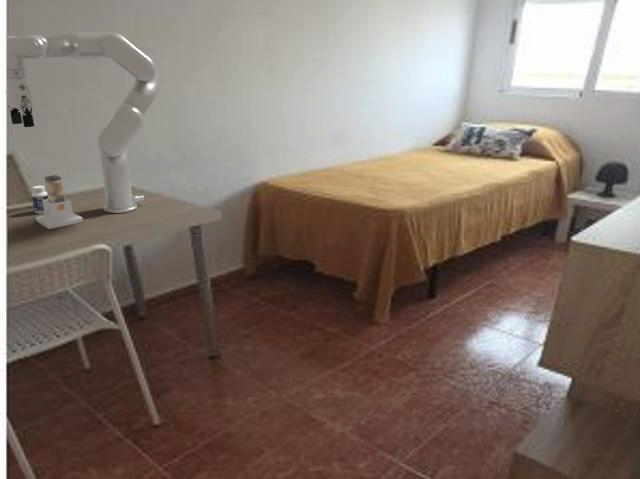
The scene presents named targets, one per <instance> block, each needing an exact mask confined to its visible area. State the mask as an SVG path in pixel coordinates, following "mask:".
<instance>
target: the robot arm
mask: <svg viewBox="0 0 640 479" xmlns="http://www.w3.org/2000/svg"><path fill="white" fill-rule="evenodd" d="M6 36H7V97H6V101H7V106H8V108H9V113H10V118H11V119H10V120H11V122H12V123H11V124H13V125H20V124H23V127H24V128H32V127H35V122H34V117H33V108H34V103H33V98H32V93H31V89H30V87H29V83H28V76H27V73H26V71H27V70H26V66H25V65H26V64H25V60H24V59H30V60H37V59H38V60H39V59H43V58H45V59H47V58H50V59H51V58H71V59H77V60H87V59H90V60H91V59H111V60H112V61H113V62H115V63H116V65H118V66H119V67H121V68H122V69H123V70H124V71H126V72H127V73H129V74H130V75H131V76H133V77H134V79H135V80H134V84H133V85H132V87H131V89H130V91H129V93H128V94H127V95H126V96H125V98H124V100H123V101H122V103H121V104H120V105H119V106H118V107H117V108H116V110H115V113H114V114H113V117H112V118H111V119H110V121H109V122H108V124H107V126H106V127H104V128H102V129H101V130H100V132H99V134H98V137H97V147H98V150H99V152H100V154H99V155H100V160H101V161H100V162H101V167H102V168H101V170H102V178H103V186H104V193H105V199H106V203H105V204H104V205H103V206H102V210H103V211H104V212H106V213H111V214H121V213H122V214H123V213H128V212H133V211H135V210H137V208H138V204H137V202H140V201H141V202H142V201H144V200H145V196H144V195H143V194H142V195H138V194H136V195H133V192H132V185H131V184H132V183H131V176H130V175H131V174H130V165H129V157H128V147H129V146H130V144H131V143H132V141H133V139H134V138H135V137H136V136H137V134H138V133H139V131H140V130H141V128H142V125H143V122H144V117H145V115H146V113H147V112H148V110H149V109H150V107H151V105H152V104H153V102H154V101H155V99H156V97H157V94H158V92H159V88H160V76H159V72H158V69H157V68H156V64H155V63H154V61H153V59H151V58H150V56H149V57H148V55H146V54H145V53H143V51H141V50H139V48H137V47H136V46H135V45H134V44H133V43H131V42H130V41H129V40H128V39H127V38H125V36H123V34H120V33H119V32H73V33H68V34H51V35H49V34H48V35H47V34H45V35H44V34H43V35H38V34H33V35H32V34H30V35H22V36H15V35H6Z"/></svg>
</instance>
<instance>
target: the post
mask: <svg viewBox="0 0 640 479" xmlns="http://www.w3.org/2000/svg"><path fill="white" fill-rule="evenodd" d="M44 182H45V187H46V192H47V194H48V200H49V201H50V202H51V203H54V202H56V201H55V200H56V199H61V198H63V200H64V197H65V195H64V188H63V182H62V177H61V176H59V175H57V174H53V175H47V176H44Z"/></svg>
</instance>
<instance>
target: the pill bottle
mask: <svg viewBox="0 0 640 479" xmlns="http://www.w3.org/2000/svg"><path fill="white" fill-rule="evenodd" d="M45 190H46V189H45V186H44V185H34V186H32V193H31V199H32V205H33V207H32V208H33V211H34V213H35V214H45V213H44V208H43V202H42V200H44V199H48V194H47V191H45Z"/></svg>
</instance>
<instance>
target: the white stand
mask: <svg viewBox="0 0 640 479" xmlns="http://www.w3.org/2000/svg"><path fill="white" fill-rule="evenodd" d="M55 201H56V202H54V203H51V202H50V201H49V200H48V199H44V200H42V202H43V208H44V213H43V215H38V216H35V221H36V222H37V223H39V224H40V225H42V226H43V227H45V228H46V229H48V230H51V229H56V228H61V227H65V226H70V225H75V224H79V223H84V218H83V217H82V216H80V215H78V214H77V213H75V212H74V211H73V207H72V206H73V205H72V200H71V199H69V198H67V197H65V196H64V200H63V198H61V199H56V200H55Z"/></svg>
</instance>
